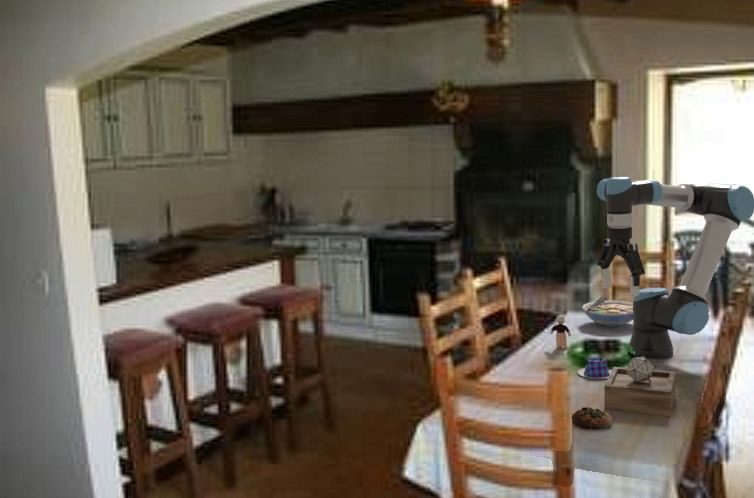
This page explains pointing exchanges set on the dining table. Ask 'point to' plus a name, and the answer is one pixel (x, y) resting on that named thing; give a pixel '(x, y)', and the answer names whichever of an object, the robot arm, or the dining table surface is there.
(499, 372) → the dining table surface
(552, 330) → the grandmother figurine
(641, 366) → the game die
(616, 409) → the walnut box
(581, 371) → the pudding
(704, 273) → the robot arm
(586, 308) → the ramen bowl
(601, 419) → the bread roll
